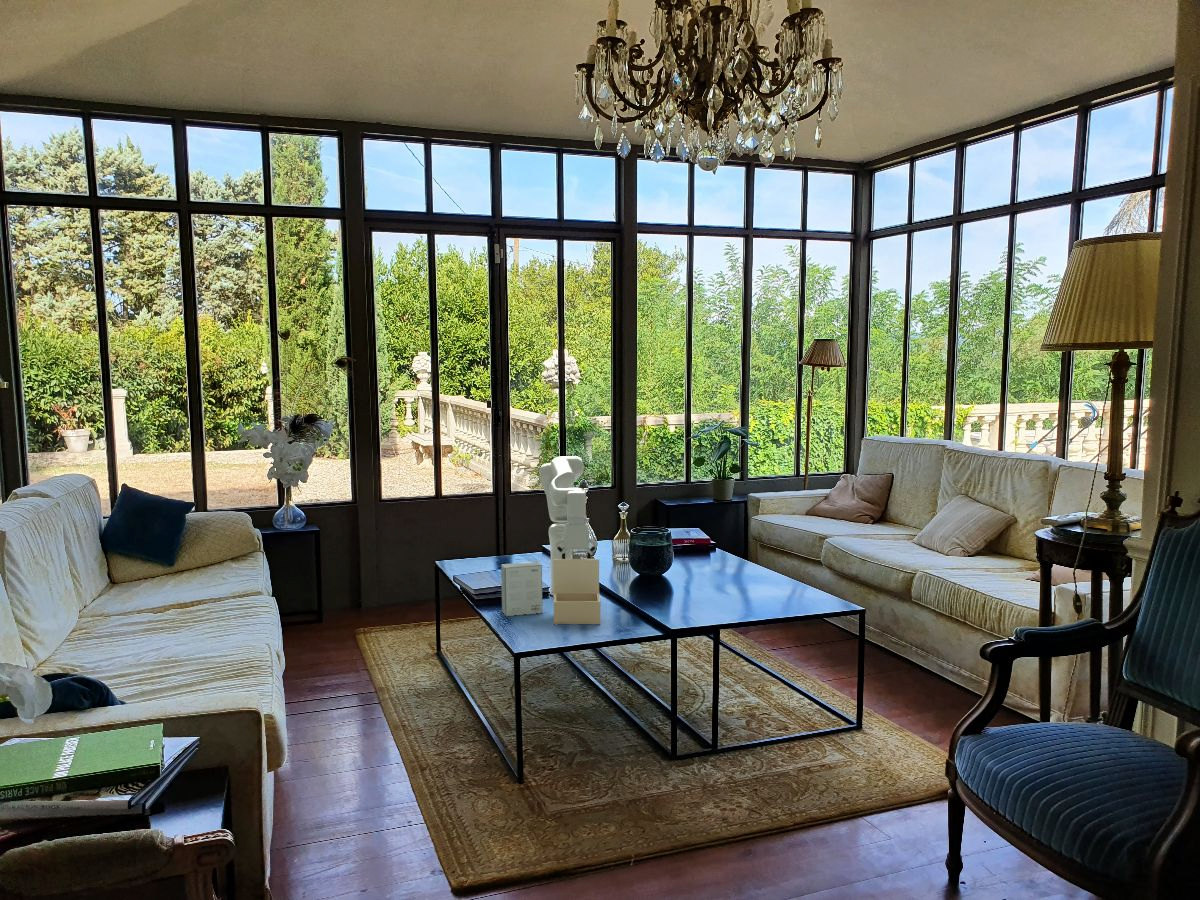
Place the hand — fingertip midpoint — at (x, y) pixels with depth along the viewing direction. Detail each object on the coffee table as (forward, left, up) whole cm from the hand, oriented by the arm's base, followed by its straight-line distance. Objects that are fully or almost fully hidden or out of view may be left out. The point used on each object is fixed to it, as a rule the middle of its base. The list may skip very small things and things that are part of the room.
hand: (576, 562), depth 344 cm
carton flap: (+7, 0, -4) cm, 8 cm away
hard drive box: (+2, -22, -20) cm, 30 cm away
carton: (+13, 0, -20) cm, 24 cm away
